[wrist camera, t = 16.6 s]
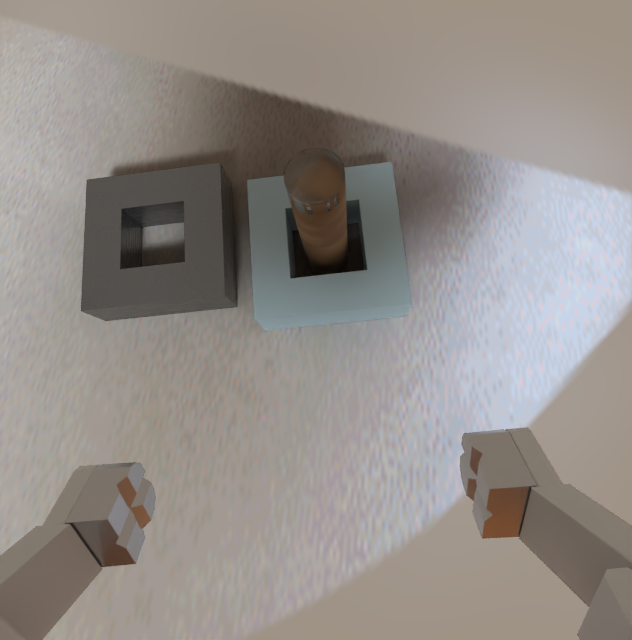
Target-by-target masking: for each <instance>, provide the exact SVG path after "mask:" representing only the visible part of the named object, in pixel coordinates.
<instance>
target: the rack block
mask: <svg viewBox="0 0 632 640" xmlns="http://www.w3.org/2000/svg"><path fill="white" fill-rule="evenodd" d="M344 169H345V185H346V211H347V224H353V223H359V231H360V240H361V248H362V257H363V265H364V270H362V271H353V272H344V273H335V274H326V275H317V276H308V277H299V278H296V270H295V258H294V245H293V232H292V231H293V230H298V227H297V223H296V220H295V217H294V213H293V210H292V207H291V203H290V200H289V197H288V193H287V190H286V186H285V183H284V175H282V176H274V177H266V178H258V179H251V180H247V190H248V209H249V228H250V247H251V266H252V285H253V304H254V320H255V321H256V322H257V323H258V324H259V325H260V326H261V327H262V328H263V329H264V330H265V331H268V330H277V329H287V328H297V327H307V326H316V325H326V324H336V323H346V322H355V321H365V320H375V319H385V318H394V317H404V316H406V314H407V313H408V311H409V309H410V307H411V305H412V299H411V292H410V285H409V278H408V271H407V264H406V257H405V250H404V243H403V236H402V229H401V222H400V215H399V208H398V201H397V194H396V187H395V180H394V173H393V166H392V162H384V163H377V164H369V165H361V166H353V167H345V168H344Z"/></svg>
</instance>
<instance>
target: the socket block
mask: <svg viewBox="0 0 632 640" xmlns="http://www.w3.org/2000/svg"><path fill="white" fill-rule="evenodd" d="M179 222H184V237H185V262H179V263H170V264H162V265H153V266H144V267H141V262H142V227H146V226H155V225H163V224H171V223H179ZM231 307H237V294H236V271H235V248H234V225H233V202H232V184H231V182H230V180H229V178H228V177H227V175H226V173H225V171H224V169H223V167H222V165H221V163H220V162H219V163H211V164H204V165H196V166H188V167H181V168H173V169H165V170H158V171H150V172H142V173H135V174H127V175H119V176H112V177H104V178H96V179H89V180H87V188H86V210H85V233H84V255H83V277H82V299H81V311H82V312H85V313H87V314H90V315H92V316H95V317H97V318H100V319H103V320H105V321H110V320H119V319H128V318H138V317H147V316H156V315H166V314H175V313H184V312H194V311H203V310H212V309H222V308H231Z"/></svg>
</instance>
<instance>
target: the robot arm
mask: <svg viewBox="0 0 632 640" xmlns="http://www.w3.org/2000/svg"><path fill="white" fill-rule="evenodd" d="M462 447H463V449H464V453H463V454H462V455H461V456H460V471H461V478H462V482H463V486H464V489H465V492H466V495H467V496H468V497H469V498H470V499H472V500H473V501H474V504H473V515H474V518H475V521H476V523H477V526H478V529H479V531H480V534H481V537H482V538H505V537H520V538H519V539H520V540H521V541H522V542H523V543H524V544H525V545H526V546H527V547H528V548H529V549H530V550H531V551H532V552H533V553H534V554H535V555H536V556H537V557H538V558H539V559H540V560H541V561H543V562H544V564H546V566H547V567H548V568H550V569H551V570H552V571H553V572H554V573H555V574H556V575H557V576H558V577H559V578H560V579H561V580H562V581H563V582H564V583H565V584H566V585H567V586H568V587H569V588H570V589H571V590H572V591H573V592H574V593H575V594H576V595H577V596H578V597H579V598H580V599H581V600H582V601H583V602H584V603H585V604H586V605H587V606H588V607H589V609H588V611H587V614H586V616H585V618H584V620H583V622H582V625H581V627H580V629H579V631H578V633H577V635H578V637H579V639H580V640H632V526H631V525H630V524H629V523H627V522H626V521H624V520H623V519H621V518H620V517H618V516H617V515H615V514H614V513H612V512H610V511H609V510H608V509H606V508H605V507H603V506H602V505H600V504H599V503H597V502H596V501H594V500H593V499H591V498H590V497H588V496H587V495H585V494H584V493H582V492H581V491H579V490H578V489H576V488H575V487H573V486H572V485H570V484H563V483H562V482H561V480H560V478H559V477H558V475H557V473H556V472H555V470H554V468H553V466H552V465H551V463H550V461H549V460H548V458H547V456H546V455H545V453H544V451H543V450H542V448H541V446H540V445H539V443H538V441H537V440H536V438H535V436H534V435H533V433H532V431H531V430H530V429H528V428H516V429H506V430H504V429H502V430H492V431H482V432H472V433H464V434H463V436H462ZM144 474H145V469H144V468H143V466H142V464H141V463H136V462H135V463H118V464H102V465H89V466H80V467H79V468H77V469H76V470H75V471H74V472H73V474H72V476H71V477H70V479H69V481H68V483H67V484H66V486H65V488H64V489H63V491H62V493H61V495H60V496H59V498H58V500H57V501H56V503H55V505H54V507H53V508H52V510H51V512H50V514H49V515H48V517H47V519H46V520H45V522H44V524H43V526H36V527H35V528H34V529H33V530H31V531H30V532H29V533H28V534H26V535H25V536H24V537H23V538H22V539H20V540H19V541H18V542H17V543H15V544H14V545H13V546H12V547H11V548H9V549H8V550H7V551H6V552H4V553H3V554H2V555H1V556H0V640H42V639H43V638H44V637H45V636H46V635H47V633H48V632H49V631H50V630H51V629H52V628H53V626H54V625H55V624H56V623H57V622H58V621H59V619H60V618H61V617H62V616H63V615H64V614H65V612H66V611H67V610H68V609H69V608H70V607H71V605H72V604H73V603H74V602H75V601H76V599H77V598H78V597H79V596H80V595H81V594H82V592H83V591H84V590H85V589H86V588H87V587H88V585H89V584H90V583H91V582H92V581H93V580H94V578H95V577H96V576H97V575H98V574H99V573H100V571H101V570H102V568H101V567H110V566H119V565H129V564H136V562H137V559H138V556H139V553H140V551H141V548H142V545H143V542H144V539H145V535H144V533H143V530H142V529H143V528H144V527H145V526H146V525H147V524H148V523H149V522H150V521H151V519H152V516H153V513H154V510H155V500H156V496H155V490H154V487H153V485H152V483H151V482H150V481H148V480H146V479H145V478H143V476H144Z"/></svg>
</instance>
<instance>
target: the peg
mask: <svg viewBox="0 0 632 640" xmlns="http://www.w3.org/2000/svg"><path fill="white" fill-rule="evenodd" d="M284 183H285V186H286V190H287V193H288V197H289V200H290V203H291V207H292V210H293V213H294V217H295V220H296V223H297V227H298V230H299V234H300V237H301V240H302V244H303V247H304V250H305V254H306V257H307V260H308V264H309V266H310V268H311V270H312V271H313V272H314V273H315V274H317V275H326V274H335V273H341V272H342V271H343V270H344V269H345V267H346V266H347V263H348V237H347V211H346V185H345V169H344V165H343V163H342V161H341V160H340V158H339V157H338V156H337V155H335V154H334V153H333V152H331V151H329V150H326V149H322V148H310V149H306V150H303V151H301V152H299V153H297V154H296V155H295V156H294V157H292V158H291V160H290V161H289V162H288V164H287V166H286V168H285V171H284Z"/></svg>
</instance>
